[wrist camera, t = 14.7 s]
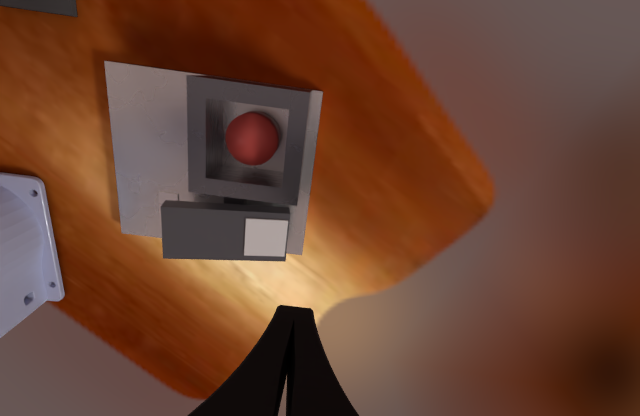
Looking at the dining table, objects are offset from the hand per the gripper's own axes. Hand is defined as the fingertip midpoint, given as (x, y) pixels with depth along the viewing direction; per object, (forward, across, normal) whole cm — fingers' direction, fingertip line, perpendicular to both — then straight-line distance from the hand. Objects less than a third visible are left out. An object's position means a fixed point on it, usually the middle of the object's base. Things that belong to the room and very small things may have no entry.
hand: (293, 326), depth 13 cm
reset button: (+9, +4, -6) cm, 11 cm away
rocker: (+7, +4, 0) cm, 8 cm away
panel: (+10, +6, -3) cm, 12 cm away
